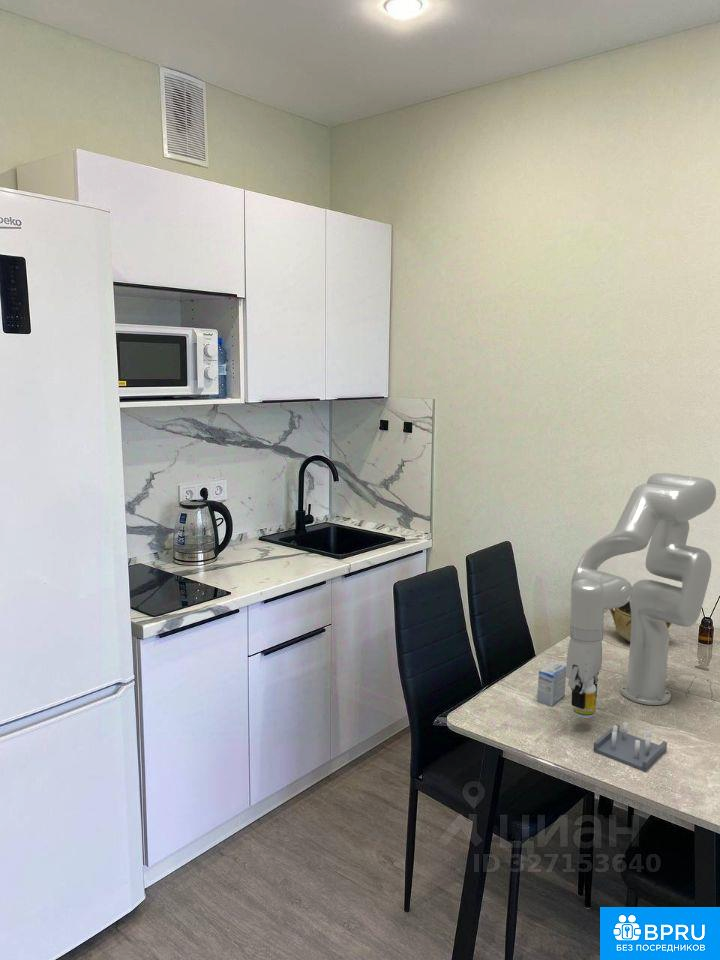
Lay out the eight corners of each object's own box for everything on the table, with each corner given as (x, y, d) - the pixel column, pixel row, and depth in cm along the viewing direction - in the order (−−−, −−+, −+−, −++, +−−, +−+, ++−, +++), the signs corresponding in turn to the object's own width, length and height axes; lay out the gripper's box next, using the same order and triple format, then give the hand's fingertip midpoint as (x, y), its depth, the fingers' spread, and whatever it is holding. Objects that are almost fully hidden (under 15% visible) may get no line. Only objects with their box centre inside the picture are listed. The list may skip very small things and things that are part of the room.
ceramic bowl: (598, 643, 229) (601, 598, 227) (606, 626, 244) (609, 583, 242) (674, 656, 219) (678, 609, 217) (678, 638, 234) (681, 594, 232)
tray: (615, 732, 173) (617, 713, 173) (666, 751, 165) (668, 731, 165) (593, 751, 165) (594, 732, 164) (645, 772, 157) (647, 751, 156)
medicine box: (549, 691, 195) (551, 661, 194) (565, 696, 192) (567, 665, 191) (536, 701, 189) (538, 670, 188) (552, 707, 186) (554, 675, 185)
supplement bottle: (570, 707, 178) (571, 671, 176) (592, 707, 177) (593, 671, 175) (575, 718, 172) (576, 681, 171) (597, 718, 172) (599, 681, 170)
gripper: (588, 617, 179) (585, 684, 183) (554, 639, 167) (552, 710, 171) (617, 624, 174) (614, 693, 178) (584, 647, 162) (582, 721, 166)
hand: (584, 701), depth 174 cm, fingers closed on supplement bottle, 5 cm apart
